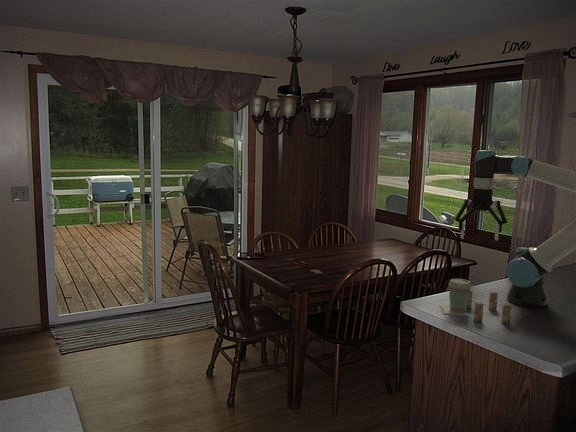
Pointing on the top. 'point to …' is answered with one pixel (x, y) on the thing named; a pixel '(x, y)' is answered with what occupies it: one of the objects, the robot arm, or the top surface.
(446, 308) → the felt mat
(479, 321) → the spacer posts
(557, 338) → the top surface
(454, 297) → the coffee cup
